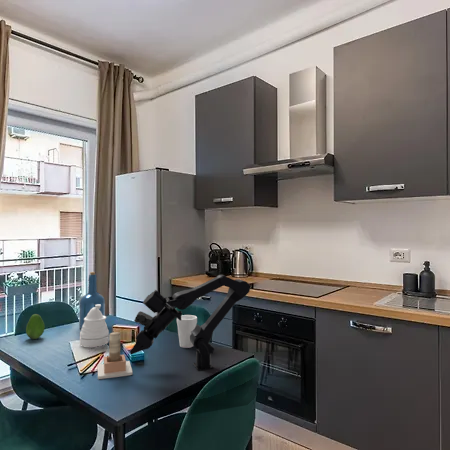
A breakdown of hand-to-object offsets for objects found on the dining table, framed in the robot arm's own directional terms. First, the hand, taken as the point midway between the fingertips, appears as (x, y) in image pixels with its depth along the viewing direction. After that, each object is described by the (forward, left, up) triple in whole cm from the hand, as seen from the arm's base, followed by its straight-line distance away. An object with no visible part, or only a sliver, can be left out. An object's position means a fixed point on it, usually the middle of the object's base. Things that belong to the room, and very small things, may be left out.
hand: (133, 349), depth 137 cm
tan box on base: (+2, +7, -8) cm, 11 cm away
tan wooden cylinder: (+2, +7, -7) cm, 10 cm away
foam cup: (+22, -26, -8) cm, 35 cm away
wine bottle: (+69, +15, -8) cm, 71 cm away
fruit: (+56, +41, -8) cm, 70 cm away
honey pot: (+40, +14, -8) cm, 43 cm away
